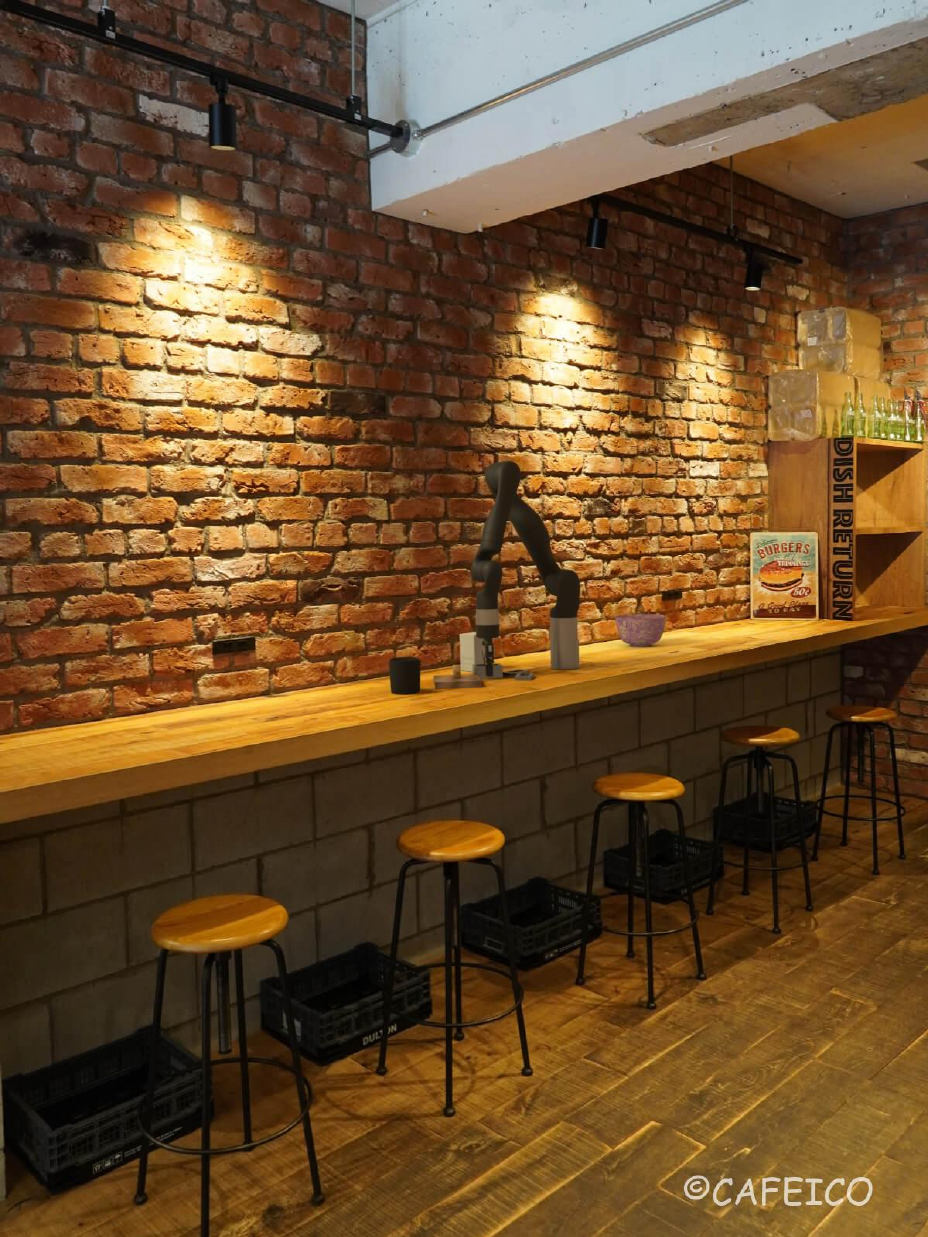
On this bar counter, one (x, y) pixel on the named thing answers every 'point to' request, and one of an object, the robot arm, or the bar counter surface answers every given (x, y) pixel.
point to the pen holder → (404, 675)
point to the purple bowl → (640, 629)
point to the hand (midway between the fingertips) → (488, 674)
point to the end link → (481, 671)
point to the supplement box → (470, 651)
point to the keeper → (457, 680)
